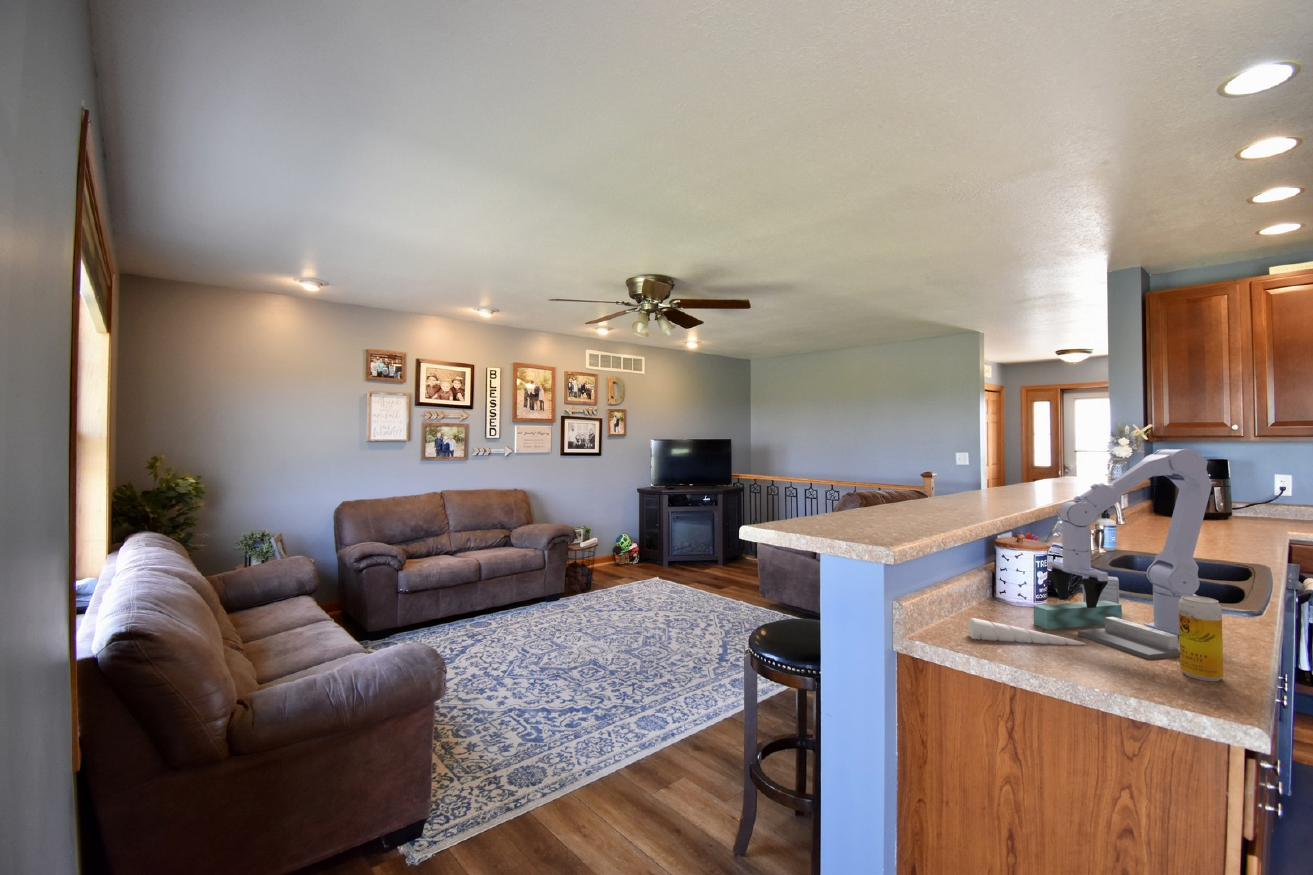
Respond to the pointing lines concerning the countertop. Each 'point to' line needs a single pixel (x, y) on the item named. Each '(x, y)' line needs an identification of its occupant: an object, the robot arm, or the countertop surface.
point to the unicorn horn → (1013, 633)
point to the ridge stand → (1135, 639)
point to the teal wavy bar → (1075, 614)
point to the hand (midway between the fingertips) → (1077, 603)
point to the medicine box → (1107, 591)
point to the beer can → (1201, 637)
